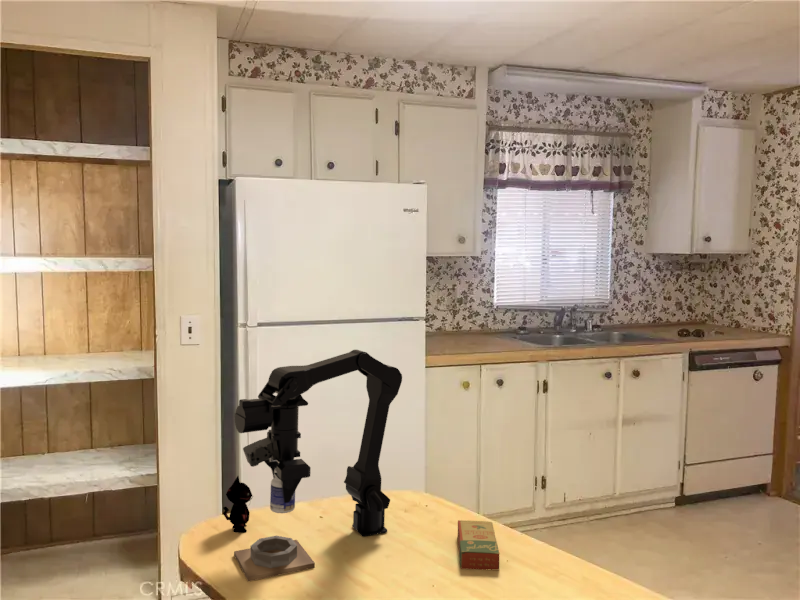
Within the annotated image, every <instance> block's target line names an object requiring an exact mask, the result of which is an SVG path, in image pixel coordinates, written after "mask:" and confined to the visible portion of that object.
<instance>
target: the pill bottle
mask: <svg viewBox="0 0 800 600" xmlns="http://www.w3.org/2000/svg"><path fill="white" fill-rule="evenodd" d="M274 473H277V468H275V469H274ZM274 476H275V478H273V477H272V478H271V481H270V498H269V499H270V500H269V501H270V502H269V503H270V505H269V508H270V511H272V512H273V513H276V514H288V513H291V512H294V510H295V508H296V491H295V492H294V494H293V496H292V498H291V500H290V502H288V503H285V502H284V499H283V492H282V485H281V480H280V479H279V478H278V477H277V476H276V475H275V474H274Z"/></svg>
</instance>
